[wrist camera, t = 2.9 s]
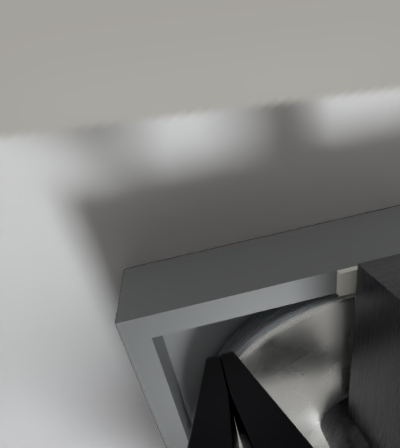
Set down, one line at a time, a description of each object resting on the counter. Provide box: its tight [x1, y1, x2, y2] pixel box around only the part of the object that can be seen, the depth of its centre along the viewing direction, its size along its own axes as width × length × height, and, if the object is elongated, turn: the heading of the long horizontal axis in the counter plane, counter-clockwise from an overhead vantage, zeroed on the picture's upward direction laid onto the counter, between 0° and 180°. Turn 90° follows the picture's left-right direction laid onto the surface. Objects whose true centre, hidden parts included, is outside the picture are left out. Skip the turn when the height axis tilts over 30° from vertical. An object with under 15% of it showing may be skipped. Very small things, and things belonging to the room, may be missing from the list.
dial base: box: [115, 205, 400, 448], centre depth 15 cm, size 18×18×4 cm
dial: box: [217, 254, 400, 448], centre depth 13 cm, size 17×15×5 cm
